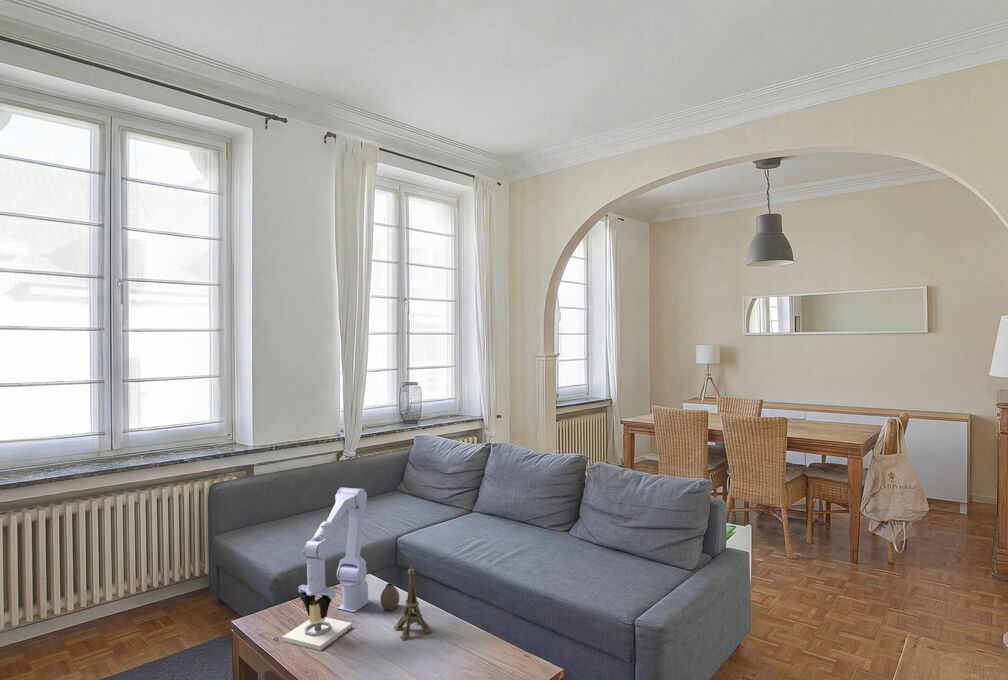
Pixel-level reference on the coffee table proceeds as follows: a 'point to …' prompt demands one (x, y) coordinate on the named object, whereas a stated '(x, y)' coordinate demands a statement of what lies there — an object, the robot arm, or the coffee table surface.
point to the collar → (315, 612)
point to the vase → (389, 597)
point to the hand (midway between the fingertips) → (317, 615)
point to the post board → (317, 633)
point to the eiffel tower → (411, 615)
